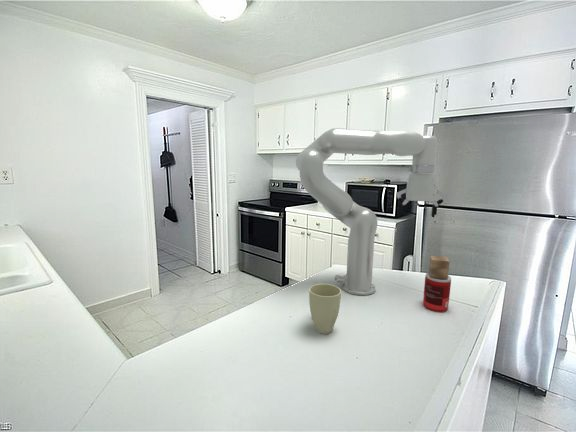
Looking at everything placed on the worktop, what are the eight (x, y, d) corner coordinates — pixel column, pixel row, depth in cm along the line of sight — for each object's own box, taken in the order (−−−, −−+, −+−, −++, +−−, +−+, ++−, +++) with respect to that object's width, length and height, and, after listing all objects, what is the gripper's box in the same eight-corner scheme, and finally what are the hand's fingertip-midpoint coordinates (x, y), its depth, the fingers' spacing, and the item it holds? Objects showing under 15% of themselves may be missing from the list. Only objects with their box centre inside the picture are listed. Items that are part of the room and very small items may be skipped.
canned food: (442, 302, 102) (445, 272, 100) (452, 313, 94) (455, 281, 92) (419, 301, 102) (422, 271, 101) (427, 312, 95) (430, 279, 93)
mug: (347, 327, 85) (349, 288, 83) (327, 342, 78) (328, 299, 76) (317, 314, 92) (318, 278, 90) (296, 326, 85) (297, 287, 83)
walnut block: (430, 277, 95) (432, 259, 94) (428, 272, 100) (430, 255, 99) (447, 279, 93) (449, 261, 92) (445, 274, 98) (446, 257, 97)
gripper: (397, 170, 107) (394, 215, 110) (450, 170, 101) (446, 219, 104) (397, 170, 114) (394, 213, 117) (447, 170, 108) (442, 215, 111)
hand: (418, 215), depth 110 cm, fingers open, 9 cm apart
